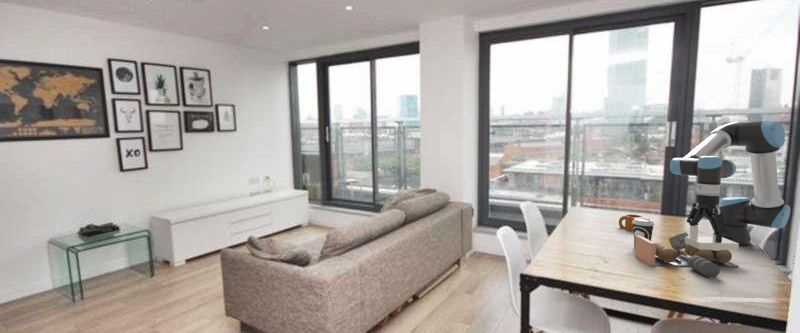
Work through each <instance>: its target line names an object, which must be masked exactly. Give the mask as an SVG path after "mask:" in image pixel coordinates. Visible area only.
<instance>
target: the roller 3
mask: <svg viewBox="0 0 800 333" xmlns="http://www.w3.org/2000/svg"><path fill="white" fill-rule="evenodd" d="M688 265H689V268H690V269H692V270H694V271H695V272H697V273H700V274H702V275H703V276H705V277H706V278H708V279H713V278H717V277H718V275H719V274H720V271H721V268H720V267H718V265H716V264H714V263H712V262H710V261H708V260H706V259H704V258H702V257H700V256H697V255H694V256H691V257H690V258H689V260H688Z"/></svg>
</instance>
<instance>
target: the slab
mask: <svg viewBox="0 0 800 333" xmlns="http://www.w3.org/2000/svg"><path fill="white" fill-rule="evenodd" d="M712 242H713V236H698V240H697V241H690V236H688V237H685V243H686V244H688V245H690V246H693V247H695V248H697V249H699V250H706V249H707V250H712ZM739 248H740V245H739V243H736V242H733V241H731V240H728V239H726V238H723V237H722V242H721V250H728V251H739Z"/></svg>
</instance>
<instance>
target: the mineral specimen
mask: <svg viewBox="0 0 800 333" xmlns="http://www.w3.org/2000/svg"><path fill="white" fill-rule="evenodd" d="M685 237H690V234H688V232H683V233H679V234H676V235H674V236H670V237H669V238H668V241H669V244H670V245H671V246H670V247H671V249H673V250H675V251H676V252H681V251H682V250H684V249H685V246H686V245H687V244H686V243H685Z"/></svg>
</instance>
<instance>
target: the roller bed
mask: <svg viewBox="0 0 800 333" xmlns="http://www.w3.org/2000/svg"><path fill="white" fill-rule="evenodd" d="M690 257H691V256H689V255H687V254H677V258H676V260H675V261H673V262H666V261H664V260H663V259H661V258H659V257H657V256H656V255H655V266H654V267H684V268H686V267H689V265H688V260H689V258H690ZM710 262H712V263H714V264H716V265H718V267H719V268H739V265H737V264H735V263H733V262H730V261H729V262H727V263H721V262H719V261H717V260H715V259H712V261H710ZM689 268H690V267H689Z"/></svg>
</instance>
